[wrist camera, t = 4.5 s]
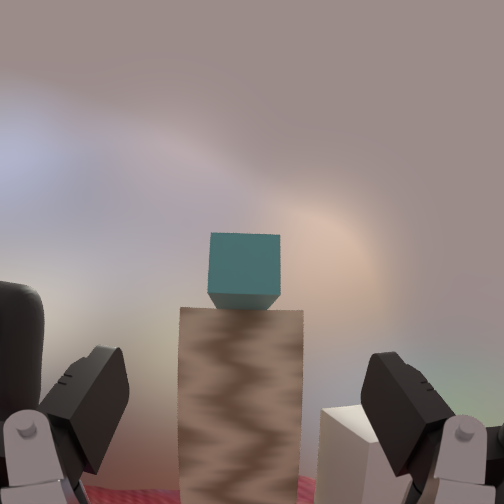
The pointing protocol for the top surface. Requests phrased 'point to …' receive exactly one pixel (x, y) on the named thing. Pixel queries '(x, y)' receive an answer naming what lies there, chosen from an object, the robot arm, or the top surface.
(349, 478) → the white tall block
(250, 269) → the teal long bar
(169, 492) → the top surface
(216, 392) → the stand
